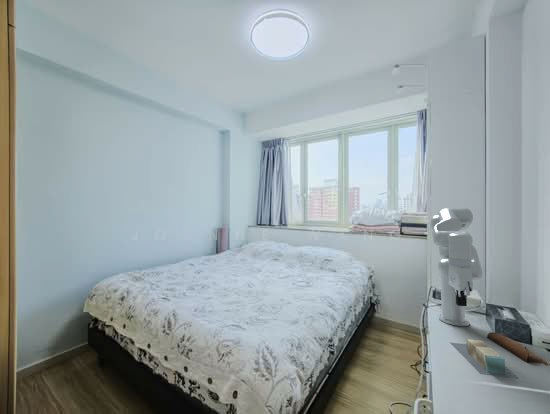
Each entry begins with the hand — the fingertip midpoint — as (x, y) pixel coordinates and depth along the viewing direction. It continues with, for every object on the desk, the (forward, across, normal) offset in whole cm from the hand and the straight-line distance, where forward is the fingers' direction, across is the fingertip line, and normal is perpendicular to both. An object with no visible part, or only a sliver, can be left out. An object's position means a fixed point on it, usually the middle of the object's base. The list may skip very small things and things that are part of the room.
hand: (461, 305), depth 98 cm
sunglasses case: (+17, +3, +17) cm, 24 cm away
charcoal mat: (+15, +13, 0) cm, 20 cm away
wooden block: (+12, +9, 0) cm, 15 cm away
